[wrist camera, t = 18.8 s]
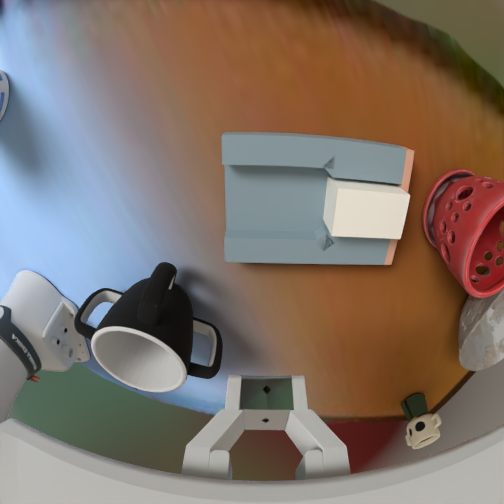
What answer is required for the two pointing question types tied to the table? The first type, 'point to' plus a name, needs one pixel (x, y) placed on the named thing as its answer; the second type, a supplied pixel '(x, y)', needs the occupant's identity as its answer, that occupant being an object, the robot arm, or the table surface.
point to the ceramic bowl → (481, 331)
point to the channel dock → (301, 196)
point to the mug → (149, 334)
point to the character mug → (420, 422)
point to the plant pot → (467, 228)
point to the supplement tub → (3, 93)
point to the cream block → (364, 208)
